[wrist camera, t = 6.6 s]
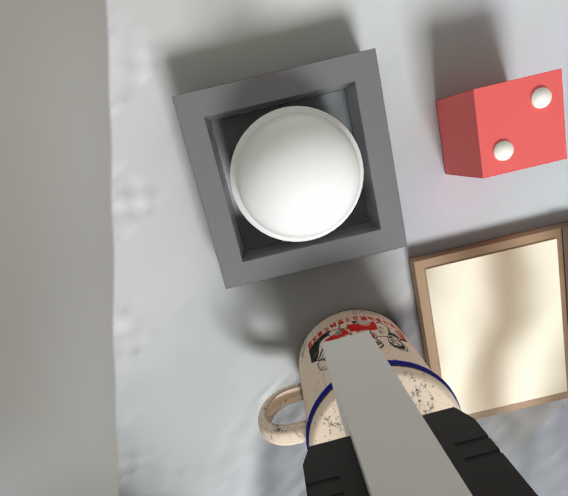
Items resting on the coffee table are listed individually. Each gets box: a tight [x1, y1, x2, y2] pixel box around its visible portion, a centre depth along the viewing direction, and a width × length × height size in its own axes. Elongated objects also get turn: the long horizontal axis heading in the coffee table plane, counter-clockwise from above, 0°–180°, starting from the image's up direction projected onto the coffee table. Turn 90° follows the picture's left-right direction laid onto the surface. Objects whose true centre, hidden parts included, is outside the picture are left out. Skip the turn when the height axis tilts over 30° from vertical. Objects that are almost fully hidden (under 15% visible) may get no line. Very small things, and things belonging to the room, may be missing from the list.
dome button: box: [230, 106, 364, 242], centre depth 24 cm, size 8×8×7 cm
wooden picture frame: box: [409, 222, 568, 419], centre depth 31 cm, size 22×14×1 cm, turn 103°
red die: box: [436, 69, 567, 178], centre depth 25 cm, size 5×5×5 cm
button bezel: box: [172, 48, 407, 289], centre depth 26 cm, size 12×12×3 cm
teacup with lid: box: [258, 310, 461, 450], centre depth 26 cm, size 12×9×12 cm
